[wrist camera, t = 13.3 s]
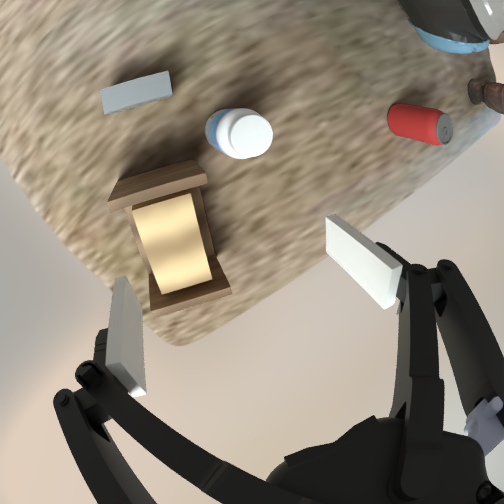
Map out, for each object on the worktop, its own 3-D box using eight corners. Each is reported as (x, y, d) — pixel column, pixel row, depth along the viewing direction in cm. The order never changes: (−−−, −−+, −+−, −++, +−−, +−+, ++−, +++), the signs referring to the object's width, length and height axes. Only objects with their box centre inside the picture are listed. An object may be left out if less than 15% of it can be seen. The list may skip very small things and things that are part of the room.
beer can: (390, 139, 46) (438, 153, 36) (382, 108, 42) (432, 116, 32) (410, 129, 46) (456, 141, 36) (402, 99, 43) (451, 106, 33)
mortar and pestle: (482, 110, 51) (538, 127, 35) (472, 121, 52) (531, 140, 35) (474, 74, 45) (533, 87, 28) (464, 83, 45) (528, 97, 29)
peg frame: (117, 181, 35) (106, 202, 26) (192, 158, 37) (205, 173, 29) (150, 277, 43) (153, 318, 35) (215, 258, 45) (232, 293, 37)
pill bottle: (207, 154, 37) (227, 168, 28) (201, 112, 34) (220, 111, 25) (248, 147, 39) (281, 159, 29) (243, 106, 36) (276, 105, 26)
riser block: (107, 93, 29) (99, 90, 24) (166, 77, 30) (168, 70, 25) (111, 114, 30) (104, 114, 25) (169, 97, 32) (172, 94, 27)
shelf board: (207, 265, 40) (212, 279, 37) (160, 280, 38) (162, 294, 35) (186, 185, 34) (190, 193, 31) (133, 201, 32) (131, 210, 29)
